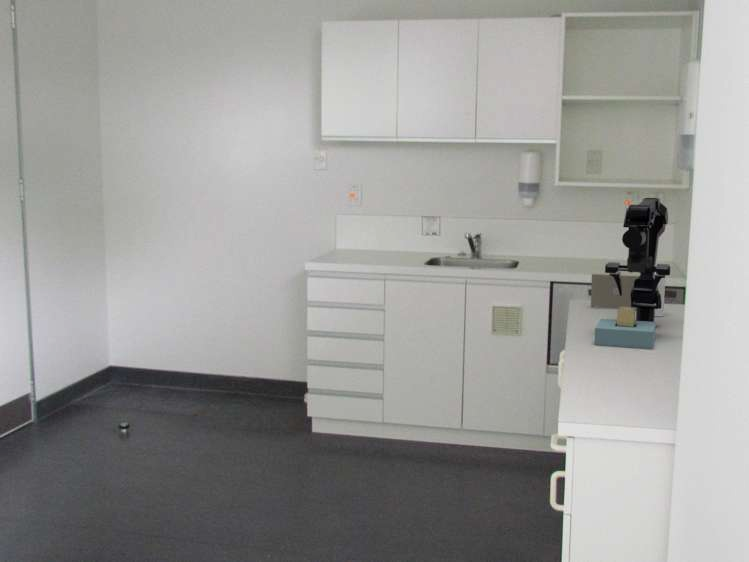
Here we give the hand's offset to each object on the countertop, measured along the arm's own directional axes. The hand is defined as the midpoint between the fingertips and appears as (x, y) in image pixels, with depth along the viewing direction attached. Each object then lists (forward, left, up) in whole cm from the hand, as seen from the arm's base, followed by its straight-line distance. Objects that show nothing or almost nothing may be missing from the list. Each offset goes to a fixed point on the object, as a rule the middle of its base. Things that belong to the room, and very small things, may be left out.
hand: (636, 296), depth 241 cm
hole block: (+11, -2, -12) cm, 16 cm away
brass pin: (+11, -2, -11) cm, 16 cm away
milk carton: (-38, +3, -12) cm, 40 cm away
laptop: (-51, -10, -12) cm, 54 cm away
